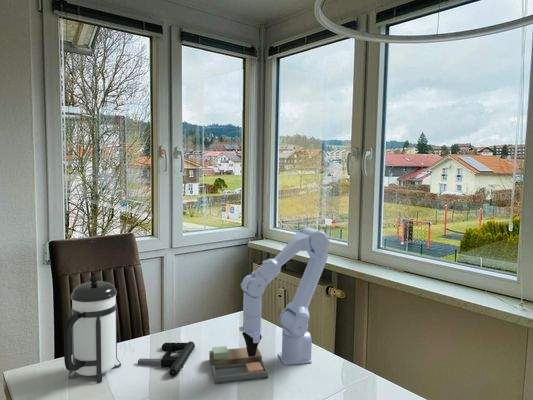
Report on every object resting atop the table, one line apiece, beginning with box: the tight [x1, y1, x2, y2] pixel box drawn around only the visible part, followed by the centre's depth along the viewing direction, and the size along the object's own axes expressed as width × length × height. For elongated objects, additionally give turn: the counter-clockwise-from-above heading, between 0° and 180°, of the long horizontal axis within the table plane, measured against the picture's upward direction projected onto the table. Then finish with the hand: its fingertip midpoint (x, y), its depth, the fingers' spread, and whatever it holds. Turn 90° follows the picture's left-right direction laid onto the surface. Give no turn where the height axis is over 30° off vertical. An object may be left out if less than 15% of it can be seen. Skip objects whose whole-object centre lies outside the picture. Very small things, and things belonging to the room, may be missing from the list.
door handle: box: [137, 341, 197, 378], centre depth 133 cm, size 3×20×16 cm
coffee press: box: [63, 275, 122, 383], centre depth 122 cm, size 17×16×30 cm
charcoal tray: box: [211, 359, 269, 385], centre depth 125 cm, size 16×8×2 cm, turn 104°
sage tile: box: [211, 345, 228, 360], centre depth 131 cm, size 4×4×2 cm
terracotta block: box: [246, 362, 263, 373], centre depth 125 cm, size 4×4×2 cm
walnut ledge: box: [208, 347, 263, 370], centre depth 132 cm, size 16×7×3 cm, turn 104°
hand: (251, 355), depth 130 cm, fingers closed
